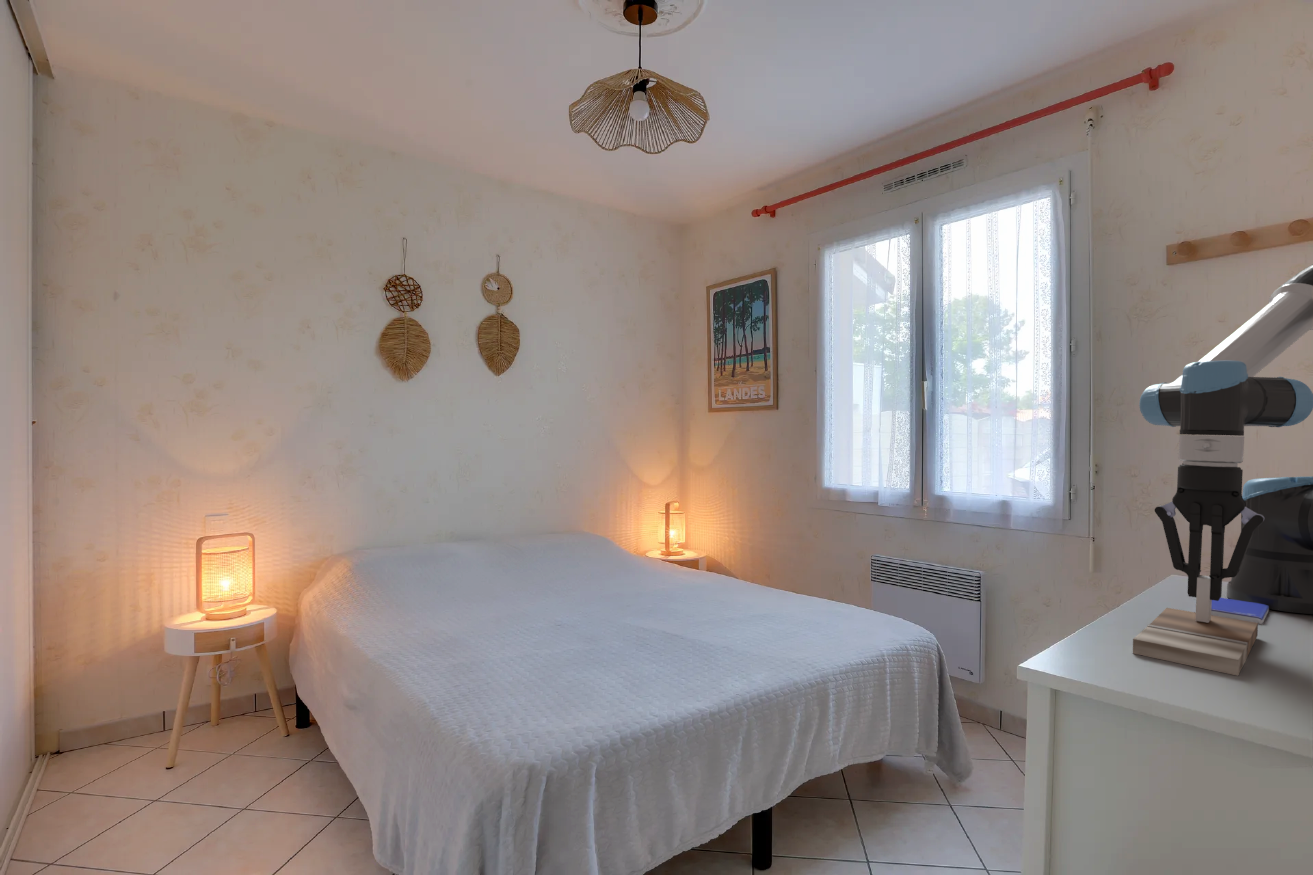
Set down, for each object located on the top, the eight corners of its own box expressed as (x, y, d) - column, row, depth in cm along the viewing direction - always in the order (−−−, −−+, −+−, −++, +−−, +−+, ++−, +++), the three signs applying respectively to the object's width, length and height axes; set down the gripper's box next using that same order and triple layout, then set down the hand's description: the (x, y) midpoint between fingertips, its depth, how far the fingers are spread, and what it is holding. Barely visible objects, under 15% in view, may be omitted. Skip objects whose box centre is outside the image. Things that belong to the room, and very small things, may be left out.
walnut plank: (1247, 656, 91) (1248, 642, 91) (1149, 637, 99) (1149, 624, 99) (1257, 635, 100) (1257, 622, 100) (1166, 619, 108) (1166, 607, 108)
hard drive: (1262, 617, 108) (1269, 604, 117) (1197, 606, 114) (1208, 595, 122) (1262, 626, 108) (1268, 613, 117) (1197, 615, 114) (1208, 603, 122)
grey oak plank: (1238, 675, 84) (1238, 658, 84) (1132, 653, 92) (1133, 637, 92) (1247, 657, 91) (1247, 642, 91) (1148, 638, 99) (1148, 624, 99)
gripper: (1151, 462, 103) (1145, 614, 103) (1265, 467, 93) (1258, 635, 94) (1161, 461, 108) (1155, 606, 108) (1270, 466, 98) (1263, 625, 99)
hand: (1203, 619), depth 101 cm, fingers closed
